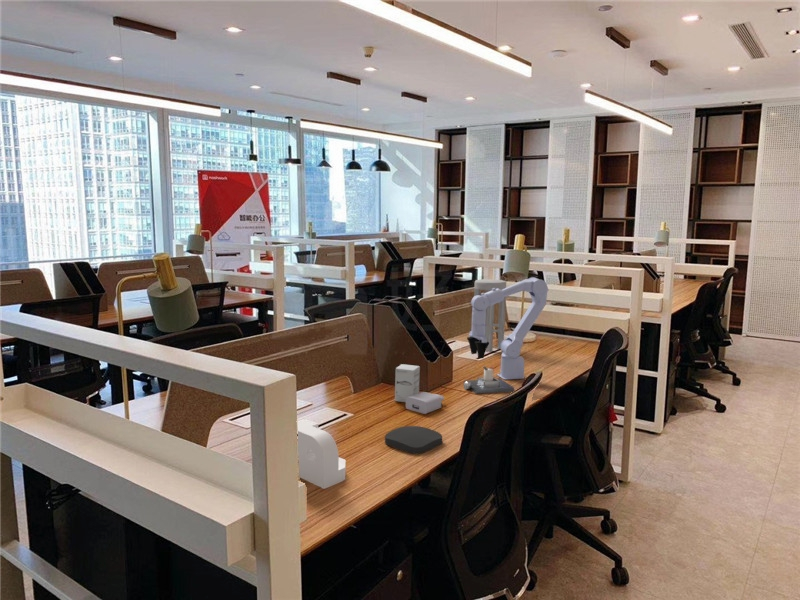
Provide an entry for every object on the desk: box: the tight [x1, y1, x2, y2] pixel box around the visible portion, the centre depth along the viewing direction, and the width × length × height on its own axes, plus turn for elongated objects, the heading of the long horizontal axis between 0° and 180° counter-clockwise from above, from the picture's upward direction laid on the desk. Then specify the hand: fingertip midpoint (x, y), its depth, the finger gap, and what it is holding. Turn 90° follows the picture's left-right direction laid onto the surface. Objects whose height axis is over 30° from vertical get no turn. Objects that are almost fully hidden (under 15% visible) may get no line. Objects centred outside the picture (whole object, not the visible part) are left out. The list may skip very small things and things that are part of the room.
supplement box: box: [394, 363, 421, 403], centre depth 221 cm, size 7×7×13 cm
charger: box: [405, 391, 445, 415], centre depth 214 cm, size 5×9×15 cm
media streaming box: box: [384, 425, 443, 455], centre depth 181 cm, size 15×15×3 cm
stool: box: [473, 278, 507, 352], centre depth 306 cm, size 16×16×35 cm
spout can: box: [482, 365, 494, 382], centre depth 238 cm, size 4×4×9 cm
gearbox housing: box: [463, 376, 515, 395], centre depth 238 cm, size 18×13×4 cm
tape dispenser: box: [297, 418, 347, 490], centre depth 158 cm, size 16×10×13 cm, turn 48°
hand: (477, 355), depth 252 cm, fingers open, 7 cm apart
